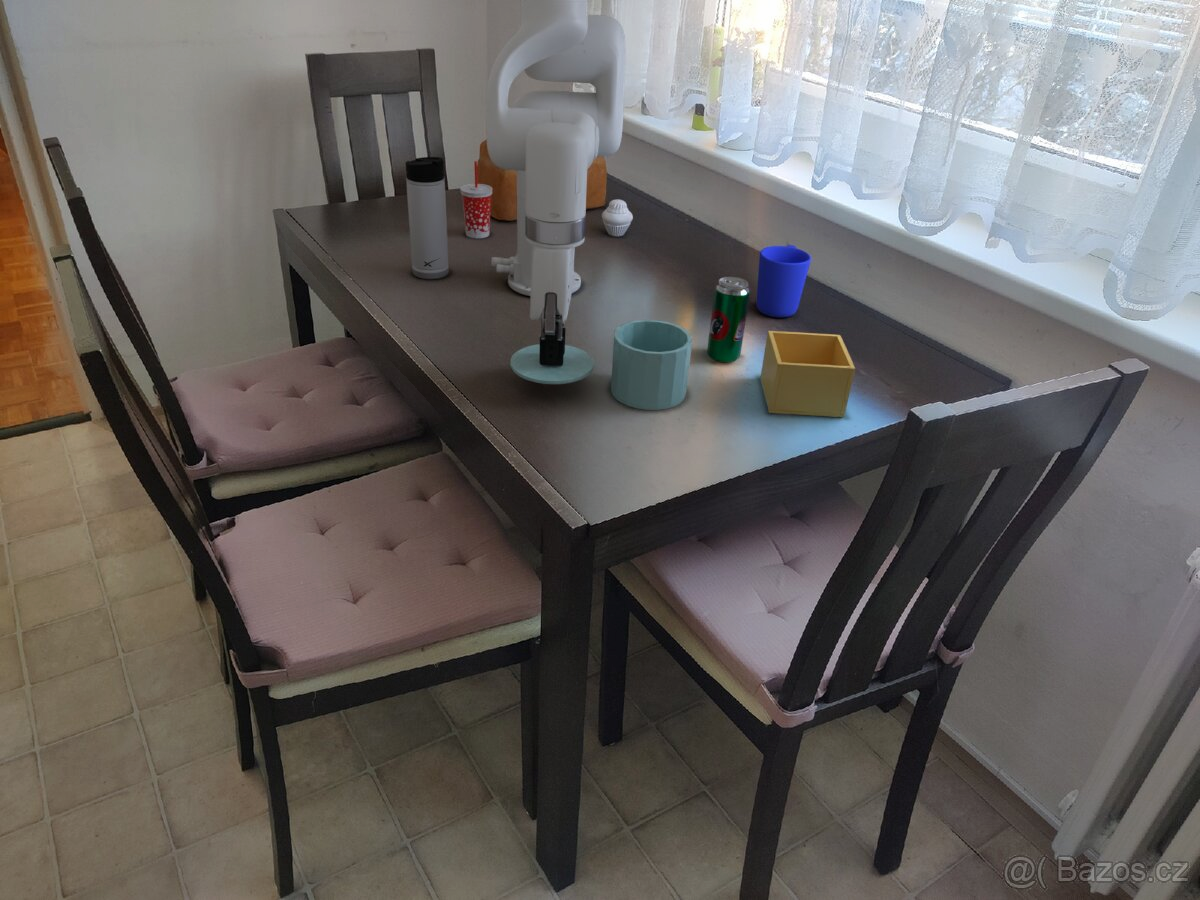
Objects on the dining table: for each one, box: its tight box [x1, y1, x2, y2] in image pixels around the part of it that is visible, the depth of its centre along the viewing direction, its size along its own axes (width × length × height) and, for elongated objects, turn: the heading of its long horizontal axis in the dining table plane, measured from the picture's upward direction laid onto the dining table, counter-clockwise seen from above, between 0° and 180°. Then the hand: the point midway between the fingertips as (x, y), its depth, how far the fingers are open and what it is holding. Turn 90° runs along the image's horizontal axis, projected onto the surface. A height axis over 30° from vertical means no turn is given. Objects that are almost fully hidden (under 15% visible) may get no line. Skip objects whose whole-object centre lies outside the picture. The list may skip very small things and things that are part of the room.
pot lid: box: [509, 343, 595, 385], centre depth 121 cm, size 11×11×6 cm
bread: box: [477, 139, 608, 222], centre depth 186 cm, size 14×26×16 cm, turn 122°
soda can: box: [706, 276, 751, 364], centre depth 131 cm, size 5×5×12 cm
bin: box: [759, 330, 856, 418], centre depth 123 cm, size 10×10×8 cm
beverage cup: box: [459, 160, 493, 239], centre depth 170 cm, size 6×6×14 cm
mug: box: [755, 244, 812, 319], centre depth 149 cm, size 8×12×10 cm
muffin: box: [601, 198, 634, 237], centre depth 176 cm, size 6×6×7 cm
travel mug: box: [405, 156, 450, 280], centre depth 151 cm, size 6×7×20 cm
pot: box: [610, 319, 693, 411], centre depth 122 cm, size 10×10×8 cm
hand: (552, 358), depth 122 cm, fingers closed on pot lid, 2 cm apart
